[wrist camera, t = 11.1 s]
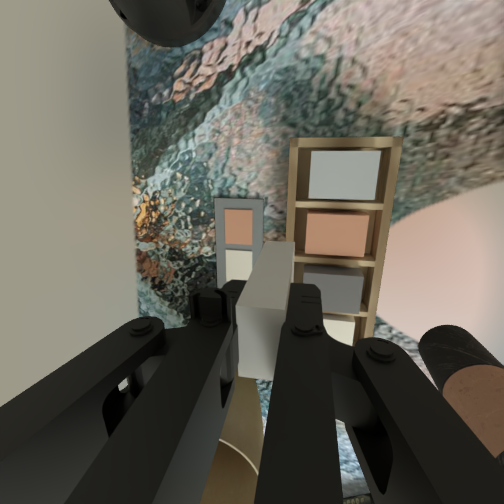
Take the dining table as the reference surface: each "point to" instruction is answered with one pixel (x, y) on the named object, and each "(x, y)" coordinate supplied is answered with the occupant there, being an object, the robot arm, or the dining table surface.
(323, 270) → the grey rectangular block
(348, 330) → the cream rectangular block
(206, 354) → the robot arm
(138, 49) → the dining table surface
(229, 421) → the plant pot
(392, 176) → the wooden compartment tray
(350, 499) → the mobile phone
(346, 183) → the key bluegrey
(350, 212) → the key terracotta
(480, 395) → the travel mug
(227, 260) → the card
